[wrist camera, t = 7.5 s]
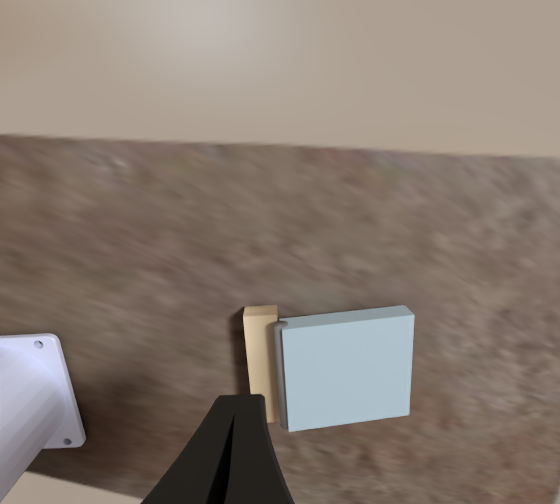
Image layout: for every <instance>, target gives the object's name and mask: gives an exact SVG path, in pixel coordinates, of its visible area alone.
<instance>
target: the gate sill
mask: <svg viewBox="0 0 560 504" xmlns="http://www.w3.org/2000/svg"><path fill="white" fill-rule="evenodd" d="M276 321H278V314H277V305H267V306H248V307H245V309H244V314H243V322H244V332H245V342H246V352H247V362H248V372H249V381H250V391H251V394H262V395H263V396H264V397H265V403H266V415H267V423H270V422H280V412H279V398H278V385H277V371H276V358H275V345H274V331H273V323H274V322H276Z"/></svg>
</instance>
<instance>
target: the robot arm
mask: <svg viewBox="0 0 560 504" xmlns="http://www.w3.org/2000/svg"><path fill="white" fill-rule="evenodd" d="M39 341H41V342H42V343H43V345H42V344H40V343H39ZM69 439H70V440H69ZM85 440H86V436H85V432H84V428H83V425H82V421H81V417H80V414H79V410H78V406H77V403H76V399H75V396H74V392H73V388H72V385H71V381H70V377H69V374H68V370H67V366H66V363H65V359H64V356H63V352H62V348H61V345H60V341H59V339H58V337H57V336H56V335H54V334H50V333H46V334H28V335H9V336H0V502H1V501H2V500H3V498H4V497H5V496H6V495H7V493H8V492H9V491H10V489H11V488H12V487H13V486H14V484H15V483H16V482H17V480H18V479H19V478H20V477H21V475H22V474H23V473H24V471H25V470H26V469H27V468H28V466H29V465H30V464H31V462H32V461H33V460H34V458H35V457H36V456H37V455H38V453H39V452H40V451H41V449H48V448H69V447H80V446H82V445H83V443H84V442H85ZM141 504H295V503H294V501H293V499H292V497H291V494H290V492H289V490H288V487H287V485H286V482H285V480H284V477H283V475H282V472H281V469H280V467H279V464H278V461H277V458H276V455H275V452H274V448H273V445H272V442H271V438H270V435H269V431H268V426H267V415H266V403H265V397H264V396H263V395H262V394H244V395H223V396H219V397H218V398H217V399H216V400H215V402H214V404H213V405H212V407H211V409H210V410H209V412H208V414H207V415H206V417H205V418H204V420H203V422H202V423H201V425H200V426H199V428H198V429H197V431H196V432H195V434H194V435H193V437H192V438H191V439H190V441H189V442H188V444H187V445H186V447H185V448H184V449H183V451H182V452H181V454H180V455H179V456H178V458H177V459H176V460H175V462H174V463H173V464H172V466H171V467H170V468H169V469H168V471H167V472H166V473H165V475H164V476H163V477H162V478H161V480H160V481H159V482H158V483H157V485H156V486H155V487H154V488H153V490H152V491H151V492H150V493H149V494H148V495H147V497H146V498H145V499H144V500H143V501H142V502H141Z"/></svg>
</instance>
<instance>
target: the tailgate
mask: <svg viewBox="0 0 560 504" xmlns="http://www.w3.org/2000/svg"><path fill="white" fill-rule="evenodd" d="M273 331H274V345H275V358H276V371H277V385H278V398H279V412H280V425H281V427H282V428H284V429H288V430H289V432H292V431H299V430H306V429H313V428H320V427H327V426H334V425H341V424H348V423H355V422H363V421H370V420H377V419H384V418H391V417H398V416H405V415H409V405H410V387H411V369H412V350H413V332H414V314H413V313H412V312H411V311H410V310H409V309H408V308H407V307H406V306H405V305H400V306H391V307H382V308H373V309H364V310H355V311H346V312H337V313H328V314H319V315H310V316H301V317H292V318H283V319H279V321H276V322H274V323H273Z"/></svg>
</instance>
